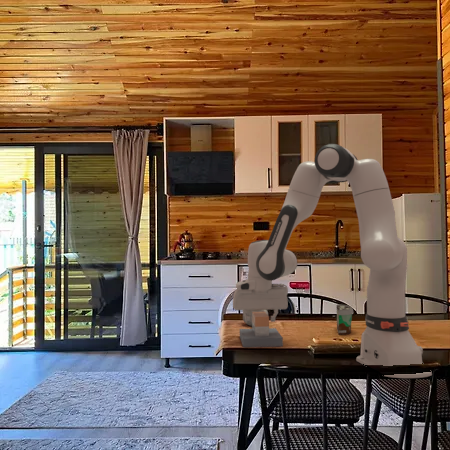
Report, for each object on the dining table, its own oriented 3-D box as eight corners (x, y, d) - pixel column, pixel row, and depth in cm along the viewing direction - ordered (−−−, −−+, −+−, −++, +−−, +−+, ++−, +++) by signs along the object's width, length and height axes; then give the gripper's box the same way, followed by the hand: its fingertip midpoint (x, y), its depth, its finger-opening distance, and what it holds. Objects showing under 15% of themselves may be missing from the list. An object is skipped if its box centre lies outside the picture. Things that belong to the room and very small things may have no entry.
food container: (355, 336, 154) (355, 310, 154) (339, 335, 155) (338, 309, 156) (352, 328, 166) (351, 304, 166) (336, 328, 168) (336, 304, 168)
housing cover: (265, 320, 153) (265, 311, 153) (269, 326, 144) (269, 316, 144) (252, 321, 152) (252, 311, 153) (255, 326, 143) (255, 316, 144)
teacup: (239, 323, 178) (238, 305, 178) (261, 321, 182) (261, 303, 182) (252, 330, 165) (251, 310, 165) (275, 328, 169) (275, 309, 169)
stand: (282, 346, 141) (282, 337, 141) (243, 347, 141) (243, 338, 141) (275, 336, 155) (275, 328, 155) (239, 336, 155) (239, 329, 155)
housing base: (265, 330, 153) (265, 320, 153) (269, 336, 144) (269, 326, 144) (252, 330, 153) (252, 321, 153) (255, 336, 144) (255, 326, 144)
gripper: (286, 282, 152) (286, 319, 152) (232, 283, 151) (232, 320, 151) (289, 284, 146) (290, 322, 146) (233, 285, 145) (233, 324, 144)
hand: (260, 321), depth 148 cm, fingers open, 8 cm apart
